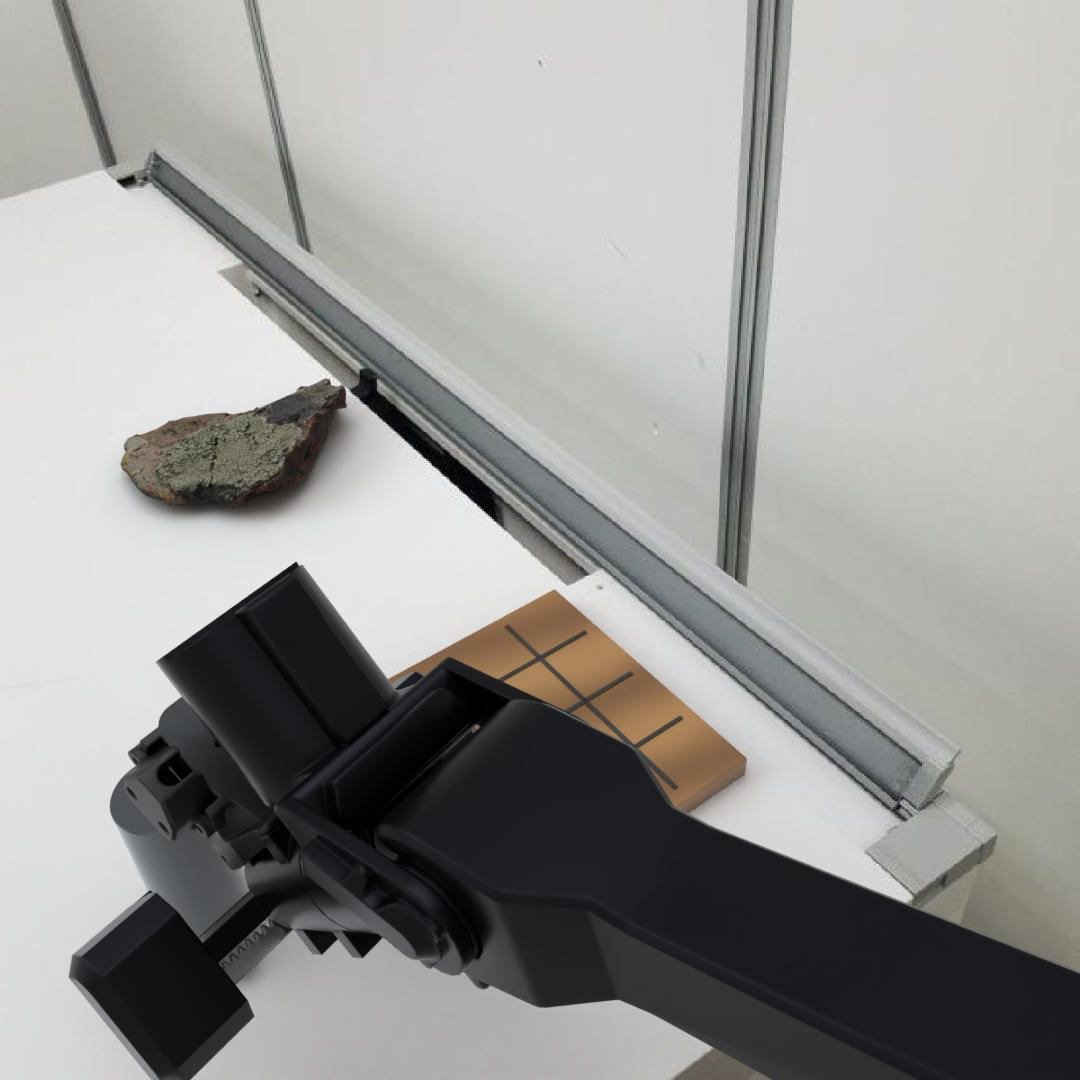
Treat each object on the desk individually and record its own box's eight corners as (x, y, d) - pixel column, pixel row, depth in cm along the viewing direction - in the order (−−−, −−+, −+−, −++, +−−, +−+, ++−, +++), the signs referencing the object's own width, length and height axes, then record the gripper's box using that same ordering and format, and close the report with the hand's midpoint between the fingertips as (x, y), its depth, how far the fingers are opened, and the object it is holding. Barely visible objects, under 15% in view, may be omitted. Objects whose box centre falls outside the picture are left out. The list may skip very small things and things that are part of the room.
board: (746, 773, 72) (747, 756, 71) (483, 953, 64) (481, 937, 63) (555, 603, 85) (554, 587, 84) (315, 734, 76) (310, 718, 75)
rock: (110, 540, 93) (91, 492, 90) (134, 422, 106) (118, 376, 103) (356, 507, 95) (347, 458, 92) (350, 394, 108) (341, 348, 105)
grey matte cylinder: (269, 959, 64) (215, 819, 56) (178, 985, 63) (109, 846, 55) (260, 885, 68) (208, 742, 59) (174, 908, 67) (109, 767, 58)
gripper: (420, 537, 46) (289, 618, 59) (5, 852, 36) (-46, 868, 48) (579, 755, 47) (417, 788, 60) (224, 1123, 37) (118, 1069, 50)
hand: (243, 865), depth 55 cm, fingers open, 9 cm apart
